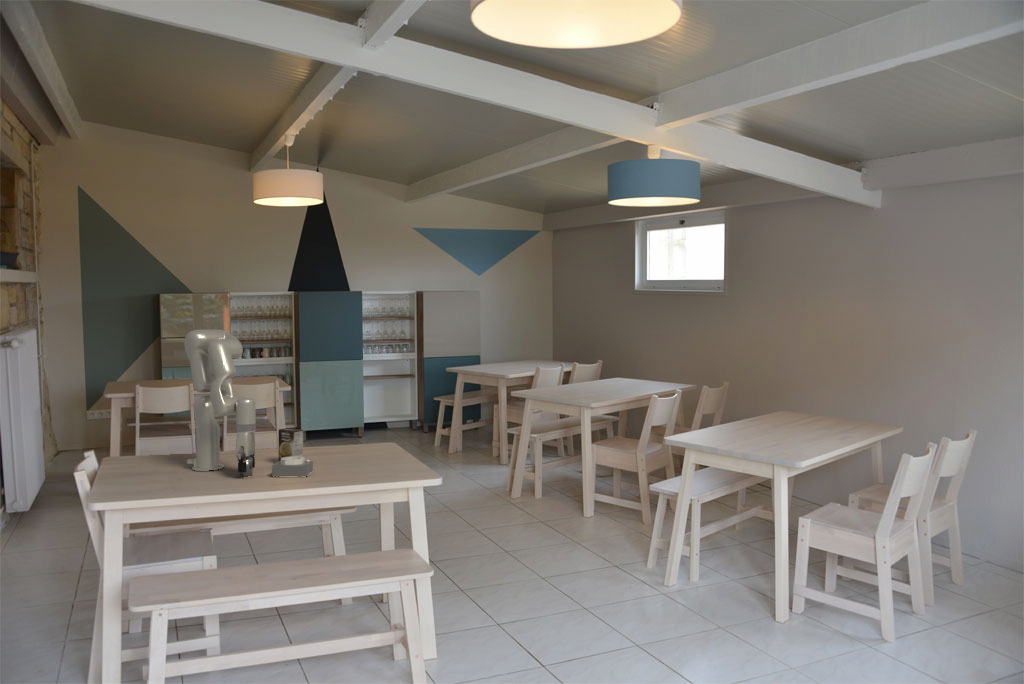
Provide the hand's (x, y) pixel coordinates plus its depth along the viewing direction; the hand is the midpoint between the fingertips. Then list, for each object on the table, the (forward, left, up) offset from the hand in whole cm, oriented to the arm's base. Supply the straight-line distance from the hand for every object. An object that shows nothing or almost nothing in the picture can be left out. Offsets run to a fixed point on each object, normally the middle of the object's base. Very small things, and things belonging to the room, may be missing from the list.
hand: (246, 470), depth 310 cm
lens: (0, 0, -3) cm, 3 cm away
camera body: (+18, +4, -3) cm, 18 cm away
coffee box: (+11, +25, -3) cm, 28 cm away
